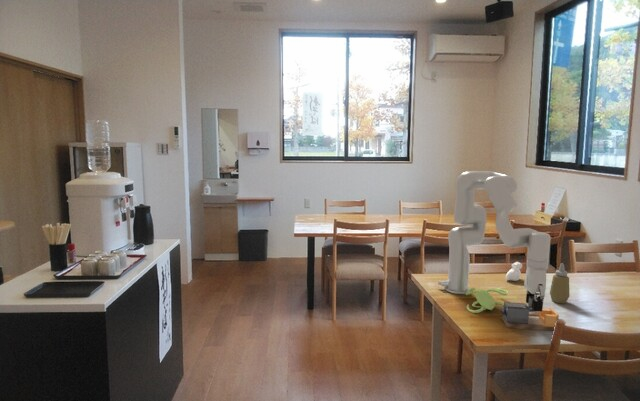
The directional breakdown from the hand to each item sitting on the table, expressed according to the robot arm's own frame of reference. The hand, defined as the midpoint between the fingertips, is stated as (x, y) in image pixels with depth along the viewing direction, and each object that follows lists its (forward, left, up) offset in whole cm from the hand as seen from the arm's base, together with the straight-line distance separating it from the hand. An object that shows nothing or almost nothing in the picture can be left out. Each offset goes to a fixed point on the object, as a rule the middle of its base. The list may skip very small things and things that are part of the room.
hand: (533, 306), depth 167 cm
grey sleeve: (-6, 0, -6) cm, 9 cm away
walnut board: (-1, 0, -8) cm, 8 cm away
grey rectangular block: (-4, 0, -4) cm, 6 cm away
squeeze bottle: (+21, +30, -8) cm, 38 cm away
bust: (+10, +60, -8) cm, 61 cm away
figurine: (-13, +21, -8) cm, 26 cm away
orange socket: (+6, 0, -6) cm, 9 cm away
